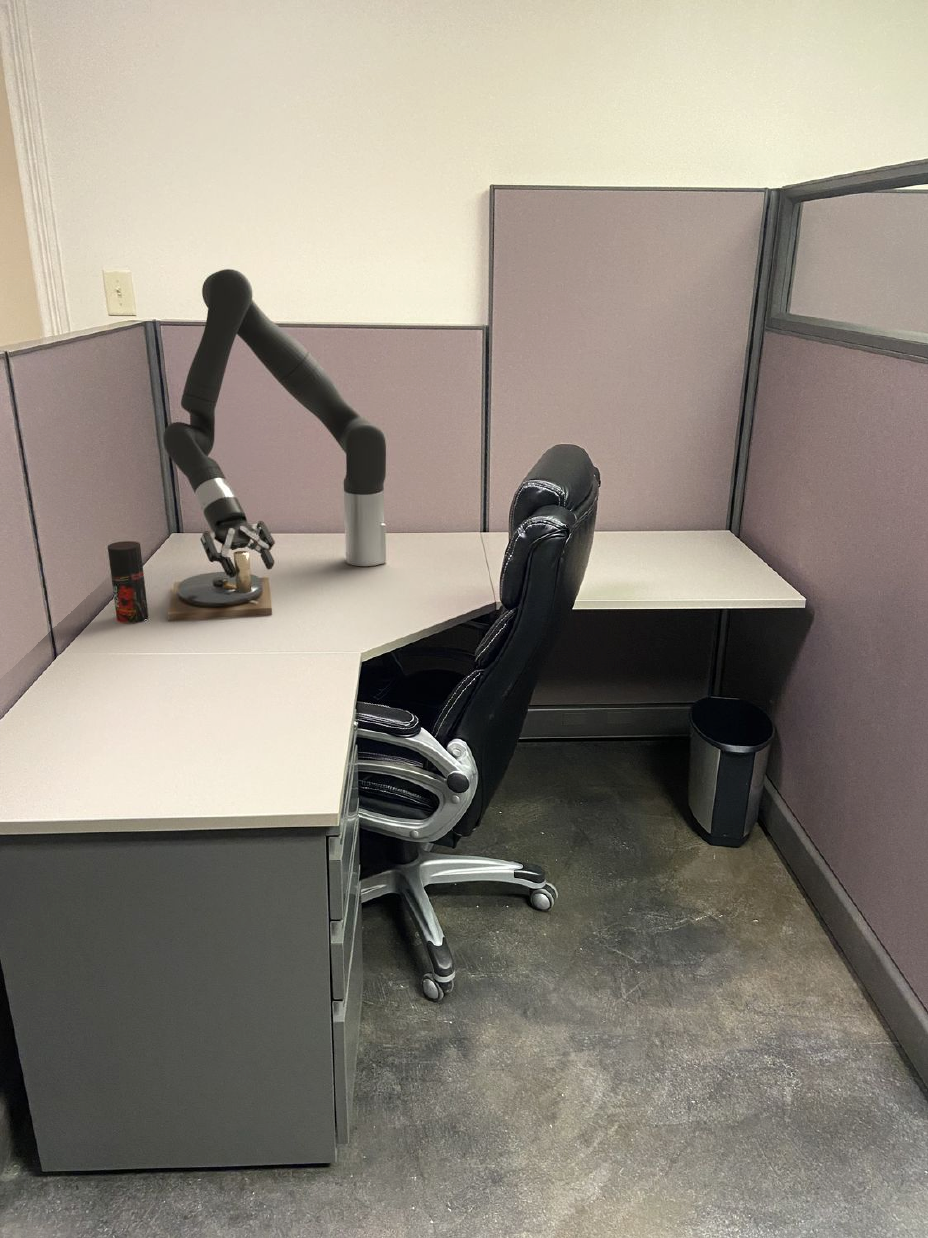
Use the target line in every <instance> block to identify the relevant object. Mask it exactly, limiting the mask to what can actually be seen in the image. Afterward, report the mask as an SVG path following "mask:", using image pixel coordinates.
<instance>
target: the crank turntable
mask: <svg viewBox="0 0 928 1238" xmlns="http://www.w3.org/2000/svg"><path fill="white" fill-rule="evenodd" d="M233 561H234V562H233V565H234V567H235V569H236V572H237V573H236V575H235V577H232V578H230V576H228V575H227V574H226V573H225V571H214V572H207V573H202V574H201V573H200V574H197V575H193V576H190V577H188V578H186V579H183V580H182V581H179V582H180V584H179V585H178V595H179V599H180V600H181V601H182V602H184V603H186V604H189V605H194V606H200V607H226V606H233V605H239V604H243V603H247V602H250V601H252V600H254V599H256V598H258V597H259V596H260V595H261V594H262V593H263V587H262V580H261V579H260V578H261V577H259V576H257V575H255V574H252V573H251V567H250V565H251V563H250V562H251V561H250V552H249V551H247V550H238V551H234V552H233Z"/></svg>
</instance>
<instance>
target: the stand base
mask: <svg viewBox="0 0 928 1238" xmlns="http://www.w3.org/2000/svg"><path fill="white" fill-rule="evenodd" d="M259 578H260V579H261V580H262V587H263V593H262V594H261V595H260V596H259V597H258V598H256V599H254V600H252V601H250V602H247V603H243V604H239V605H233V606H226V607H200V606H194V605H189V604H186V603H184V602H182V601H181V600H180V599H179V595H178V585H179V584H180V582H181V581H174V582H173V587H172V591H171V597H170V601H169V607H168V612H167V618H168V622H178V621H180V622H181V621H194V620H211V619H227V618H241V617H243V618H244V617H256V616H259V617H260V616H269V615H270V616H272V615H273V608H272V597H271V588H270V587H271V586H270V577H269V576H268V577H264V576H263V577H259Z"/></svg>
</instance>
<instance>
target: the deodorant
mask: <svg viewBox="0 0 928 1238" xmlns="http://www.w3.org/2000/svg"><path fill="white" fill-rule="evenodd" d="M107 553H108V561H109V569H110V575H111V577H110V578H111V584H112V592H113V598H114V608H115V614H116V615H115V617H116V621H117V622H118V623H119V624H127V625H128V624H129V625H131V624H138V622H139V623H141V622H145V621H146V620H145V619H147V620H148V619H149V617H148V616H149V609H148V601H147V591H146V585H145V584H146V583H145V575H144V574H145V573H144V567H143V557H142V556H143V555H142V548H141V543H140V542H138V541H132V540H131V541H129V540H125V541H124V540H123V541H117V542H116V541H115V542H113V543H110V544H108V545H107ZM144 620H145V621H144Z"/></svg>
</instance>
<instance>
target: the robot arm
mask: <svg viewBox="0 0 928 1238" xmlns="http://www.w3.org/2000/svg"><path fill="white" fill-rule="evenodd" d="M201 295H202V300H203V302H204V305H205V306H206V307H207V315H206V319H205V320H206V321H205V325H204V330H203V333H202V337H201V340H200V341H199V345H198V348H197V349H196V353H195V354H194V357H193V359H192V361H191V364H190V367H189V370H188V373H187V377H186V379H185V380H186V381H185V384H184V387H183V392H182V395H181V400H180V406H181V408H182V409H183V410H184V411H186V412H187V413H188V414H189V423H185V422H182V421H175V422H172V423H170V424H168V425H167V426H166V428H165V429H164V432H163V436H162V439H163V445H164V449H165V451H166V453H167V454H168V456H169V457H170V459H171V460H172V461H173V462H174V464H175V466H177V468H178V469H179V470H180V471H181V473H182V474H184V476H185V477H186V478H187V480H188V482H189V485H190V486H191V488H192V490H193V492H194V494H195V496H196V497H195V498H196V500H197V503H198V506H199V508H200V510H201V512H202V514H203V516H204V518H205V520H206V521H207V523H208V526H209V528H210V530H211V531H212V532H210V531H208V530H204V532H203V533H202V535H201V536H200V539H199V540H200V542H201V544H202V547H203V549H204V552H205V554H206V557H207V559H208V561H209V562H210V563H214V562H217V563H220V564H221V566H222V569H223V572H225V573H226V574H227V575H228V576H230V578H232V577H235V575H236V573H237V572H236V569H235V566H234V562H233V561H232V559H231V557H230V556H228V555H229V551H230V550H231V551H235V550H237V549H245V548H248V549H249V550H251V551H252V550H253V551H256V552H257V553H258V554H260V557H261V560H262V562H263V565H264V566H265V568H266V570H271V569H273V567H274V565H275V559H274V557H273V555H272V553H271V550H272V549H273V547H274V545H275V543H276V540H274V539H275V538H273V535H272V534H271V532H270V531H269V529H268V527H267V526H266V523H265V522H264V521H263V520H259V521H258V522H257V523H255V524H251V523H250V522H248V520H247V516H246V513H245V512H244V510H243V508H242V505H241V504H240V502H239V500H238V497H237V496H236V493H235V492H234V490H233V488H232V487H231V485H230V484H229V482H228V480H227V479H226V477H225V475H224V473H223V471H222V469H221V466H220V465H219V464H218V463H217V461H216V460H215V459H213V458H211V457H209V455H210V454H211V452H212V451H213V448H214V444H215V438H216V437H215V434H216V432H215V431H216V430H215V427H216V426H215V425H216V415H215V414H216V413H215V412H216V411H215V410H216V406H217V404H218V400H219V396H220V392H221V388H222V385H223V380H224V377H225V373H226V369H227V365H228V362H229V359H230V354H231V351H232V348H233V345H234V343H235V339H236V337H237V336H238V338H241V340H242V341H243V342H244V343H245V344H246V345H247V347H249V349H250V350H251V351H252V352H253V353H254V355H255V356H256V357H257V359H258V360H259V361H260V363H262V364H263V366H264V367H265V368H266V369H267V370H268V371H269V373H270V374H271V375H272V376H273V377H274V379H275V380H277V382H278V383H279V384H280V385H281V386H282V387H283V388H284V389H285V390H286V391H287V393H289V394H290V395H291V396H292V397H293V398H294V399H295V400H296V401H297V402H298V403H300V404H301V405H302V407H304V409H307V411H309V413H312V415H314V416H315V417H316V418H317V419H318V420H319V421H320V422H321V423H322V425H324V427H325V428H326V429H327V431H328V432H329V433H330V434H331V436H332V437H333V438H334V439H335V442H337V443H338V445H339V446H340V448H341V449H342V451H343V452H344V453H345V458H346V459H345V463H346V466H345V468H346V469H345V477H344V479H343V502H344V503H343V504H344V505H343V506H344V507H343V509H344V510H343V511H344V537H345V540H344V542H345V543H344V544H345V562H346V563H347V564H348V565H351V566H354V567H355V566H357V567H373V566H378V565H381V564H387V539H386V538H387V534H386V532H387V531H386V530H387V529H386V523H385V509H384V508H385V505H384V504H385V503H384V501H385V500H384V485H385V484H384V483H385V481H386V475H387V470H386V469H387V443H386V438H385V435H384V433H383V431H382V429H380V428H379V427H378V426H377V425H376V424H374V423H373V422H371V421H369V420H367V419H366V418H364V416H362V415H361V414H360V413H359V412H358V411H357V410H355V409H354V408H353V406H352V405H350V404H349V402H347V401H346V400H345V399H344V398H343V396H342V395H341V393H340V392H339V390H338V389H337V387H336V386H335V384H334V382H333V381H332V379H331V378H330V376H329V374H328V373H327V372H326V370H325V369H324V368H323V367H322V366H321V364H320V363H319V362H318V361H317V360H316V358H314V356H313V355H312V354H311V353H310V352H309V351H308V350H307V349H306V348H305V347H304V346H303V344H301V343H300V342H299V341H298V340H297V339H296V338H295V337H293V336H291V335H290V334H289V333H288V332H287V331H285V330H284V329H283V328H281V327H280V326H278V325H277V324H276V323H275V322H273V320H271V319H270V318H269V317H268V316H267V315H266V314H265V313H264V311H262V310H261V307H260V306H258V304H257V302H255V301H254V300H253V288H252V285H251V283H250V281H249V279H248V278H247V277H246V275H245V274H244V273H242V272H240V271H239V270H236V269H231V268H226V269H220V270H218V271H215V272H214V273H211V274H210V275H208V276H207V277H206V279H205V280H204V282H203V284H202V289H201ZM251 540H252V542H251ZM215 541H217V542H218V543H219V544H221V548H220V549H219V550H220V551H219V552H218V550H217V548H216V545H215Z"/></svg>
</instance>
